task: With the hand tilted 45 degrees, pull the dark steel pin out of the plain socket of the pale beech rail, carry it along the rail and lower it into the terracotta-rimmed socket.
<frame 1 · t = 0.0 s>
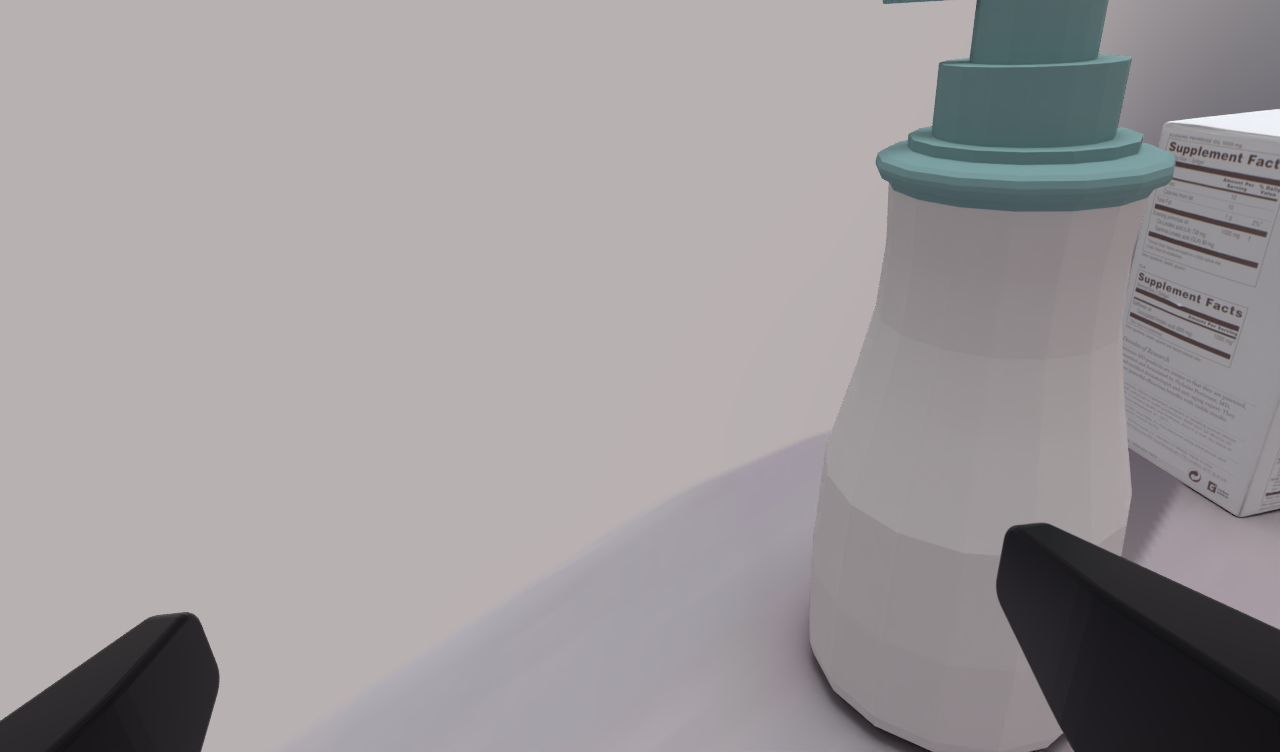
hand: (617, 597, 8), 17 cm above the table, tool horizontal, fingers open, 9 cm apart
soap bottle: (938, 661, 29), on the table
supplement box: (1231, 458, 40), on the table
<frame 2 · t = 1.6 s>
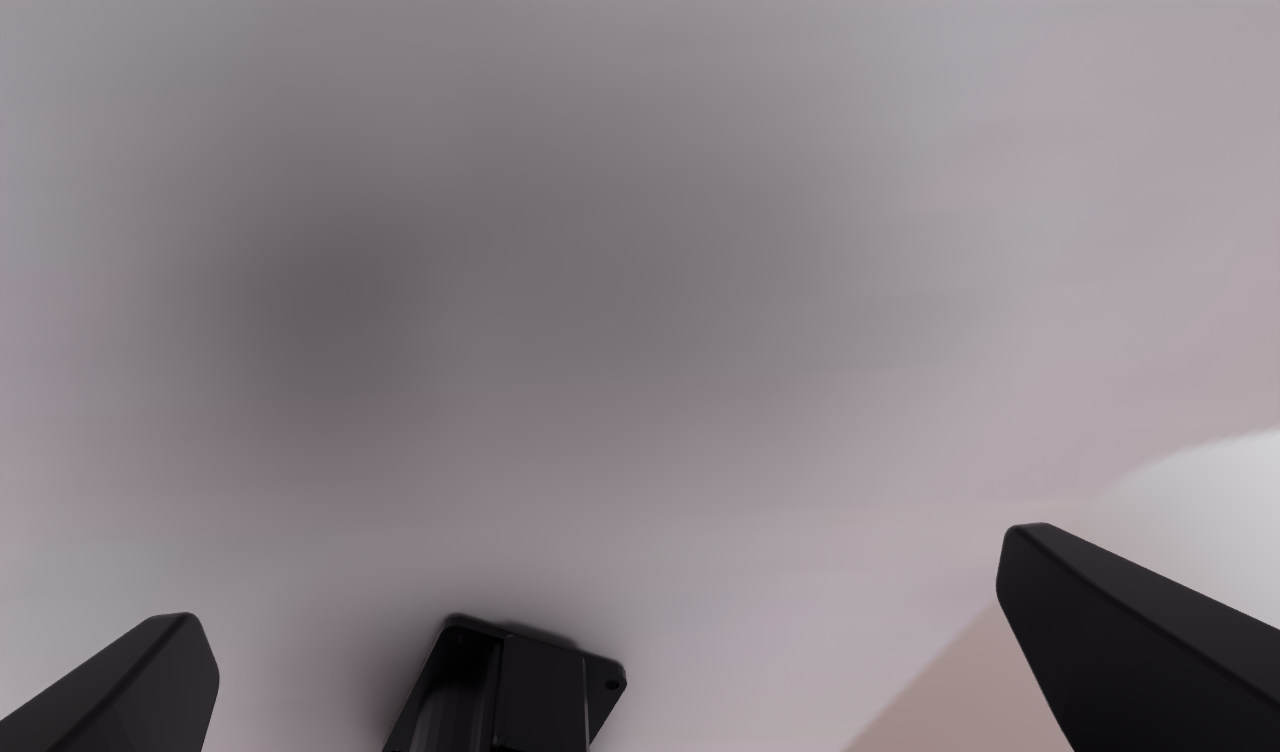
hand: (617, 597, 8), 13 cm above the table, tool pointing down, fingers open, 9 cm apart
when the fingers open (9 cm above the table, at t = 9.1 s): steel pin stays where it is, resting in socket rail.
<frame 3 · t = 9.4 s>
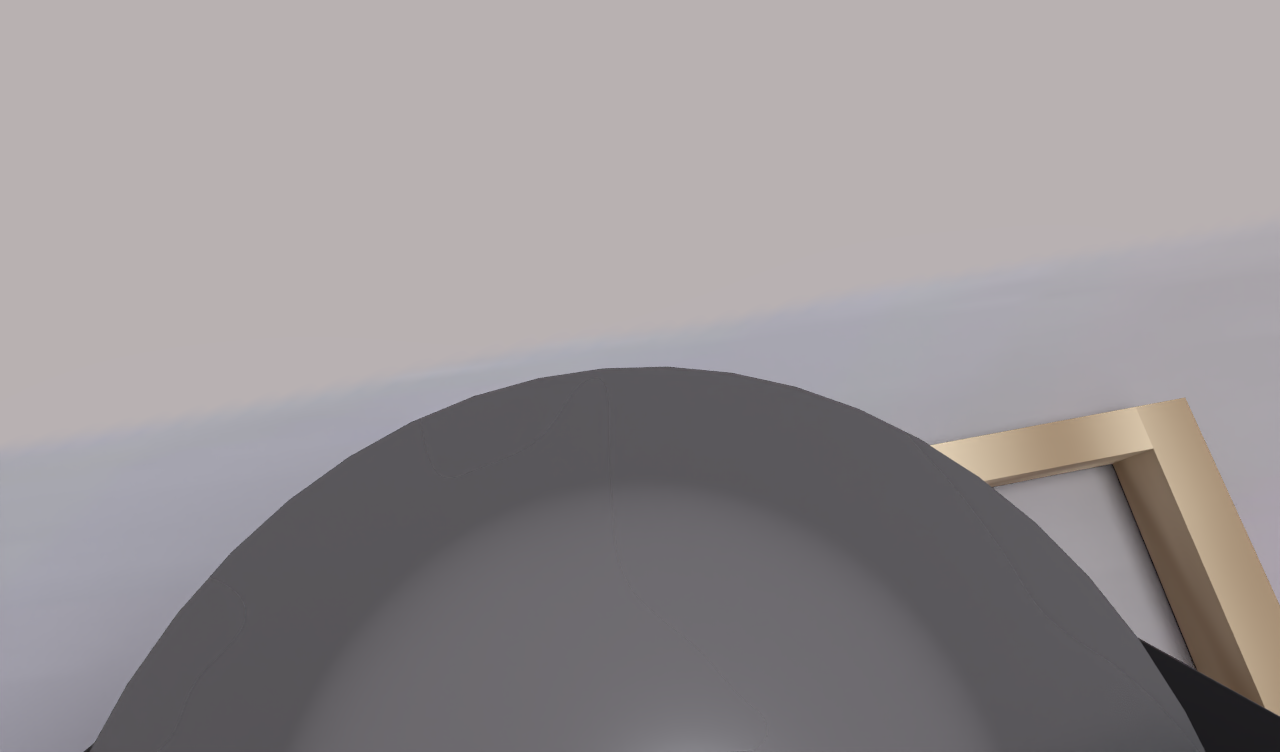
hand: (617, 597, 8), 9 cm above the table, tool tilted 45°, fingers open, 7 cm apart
steel pin: (623, 694, 16), resting in socket rail
socket rail: (840, 644, 17), on the table
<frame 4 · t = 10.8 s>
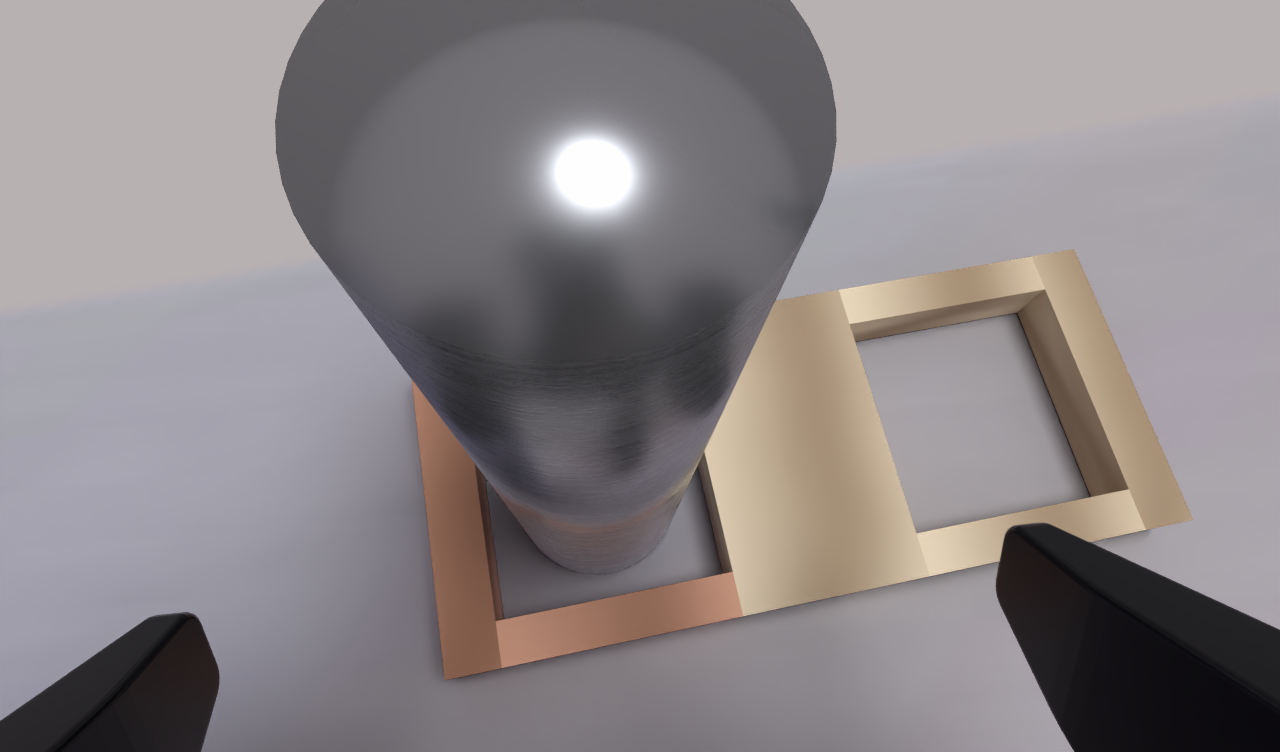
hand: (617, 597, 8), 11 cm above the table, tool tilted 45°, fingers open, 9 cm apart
steel pin: (597, 494, 20), resting in socket rail
socket rail: (781, 455, 20), on the table
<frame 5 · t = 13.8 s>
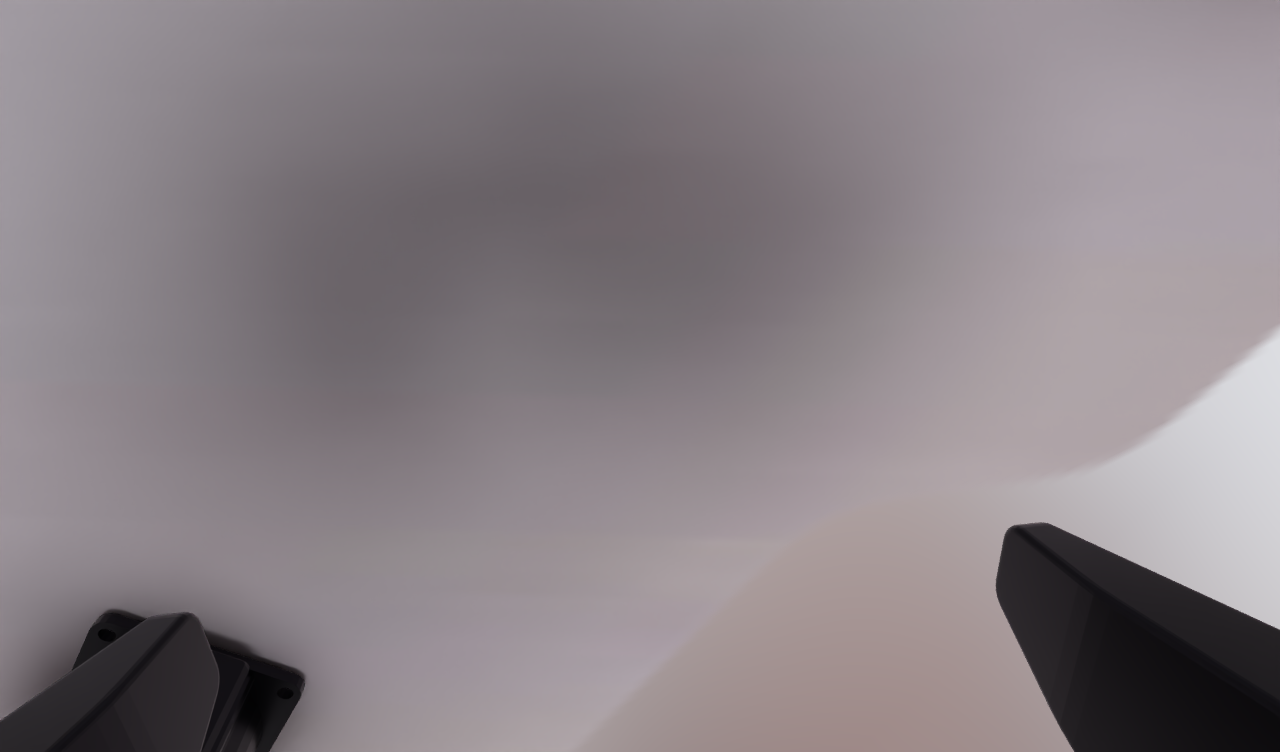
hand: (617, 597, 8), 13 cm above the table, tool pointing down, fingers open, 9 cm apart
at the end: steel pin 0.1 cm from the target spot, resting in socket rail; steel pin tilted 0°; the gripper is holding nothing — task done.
